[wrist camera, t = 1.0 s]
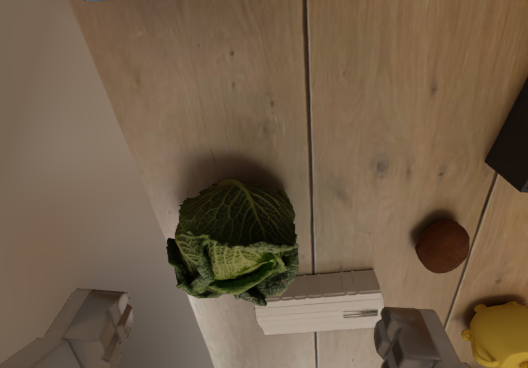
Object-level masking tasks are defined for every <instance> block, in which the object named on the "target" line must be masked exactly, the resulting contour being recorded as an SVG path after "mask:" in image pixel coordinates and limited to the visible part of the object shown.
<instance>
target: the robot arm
mask: <svg viewBox="0 0 528 368" xmlns="http://www.w3.org/2000/svg"><path fill="white" fill-rule="evenodd" d="M129 299H130V298H129V296H128V293H127V292H120V291H107V290H95V289H80V288H79V289H76V290H75V291H74V292H73V293H72V294H71V295H70V297H69V299H68V300H67V301H66V303H65V305H64V306H63V308H62V309H61V311H60V312H59V314H58V315H57V317H56V318H55V320H54V322H53V323H52V325H51V326H50V328H49V329H48V331H47V332H46V334H45V335H44V337H43V338H37V339H35V340H34V341H33V342H31V343H30V344H28V345H27V346H25V347H24V348H23V349H21V350H20V351H18V352H17V353H16V354H14V355H13V356H11V357H10V358H8V359H7V360H6V361H4V362H3V363H1V364H0V368H116V366H117V363H118V361H119V359H120V356H121V354H122V349H121V346H120V344H121V343H122V342H124V341H125V340H126V339H127V338H128V337H129V334H130V331H131V329H132V324H133V319H134V313H133V309H132V307H131V306H130V305H128V301H129ZM380 315H381V318H382V319H381V320H379V321H377V322H376V325H375V328H374V342H375V347H376V351H377V353H378V354H379V355H380V356H381V357H382V358H383V360H384V361H383V363H382V366H381V368H471V367H470V366H469V365H467V364H466V363H461V362H460V360H459V358H458V356H457V354H456V352H455V350H454V348H453V346H452V344H451V342H450V340H449V338H448V336H447V334H446V332H445V329H444V327H443V325H442V323H441V321H440V319H439V317H438V315H437V313H436V312H435V311H434V310H430V309H415V308H398V307H384V308H383V309H382V311H381V313H380Z"/></svg>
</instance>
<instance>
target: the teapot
mask: <svg viewBox="0 0 528 368" xmlns="http://www.w3.org/2000/svg"><path fill="white" fill-rule="evenodd" d="M474 310H475V311H476V312H477V313H476V314H475V315H474V317H473V319H472V320H471V323H470V329H465V330H463V331H462V332H461V336H462V338H463V339H464V340H466V341H471V348H472V353H473V356H474V358H475V359H476V361H477V362H478V363H480V364H482V365H484V366H487V367H492V368H528V308H527V307H525V306H523V305H520V304H517V302H515V301H510V302H507V303H506V304H505V305H497V306H491V307H486V305H477V306H476V307H475V308H474ZM466 335H469V337H467V336H466ZM478 353H479V354H480V355H479V354H478ZM480 356H481V357H482V358H481V357H480Z"/></svg>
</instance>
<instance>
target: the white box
mask: <svg viewBox="0 0 528 368" xmlns="http://www.w3.org/2000/svg"><path fill="white" fill-rule="evenodd" d="M317 274H318V275H308V276H306V274H305V275H304V276H297V277H295V280H294V281H292V282H291V283H290V284H289V286H288V287H287V289H288V290H287V291H286V292H284V293H283V294H282V295H281V296H275V297H268V298H266V299H265V300H266V302H267V305H266V306H257V305H255V308H254V309H255V310H256V316H255V317H256V318H257V323H258V324H259V325H258V326H260V327H262V329H263V331H264V334H265V335H272V334H287V333H301V332H316V331H330V330H345V329H360V328H374V327H375V325H376V322H377V321H379V320H380V319H382V318H381V315H380V313H381V311H382V309H383V308H384V304H383V295H382V292H381V288H380V286H379V283H378V280H377V277H376V274H375V271H374V269H372V270H365V271H353V270H351V272H343V271H340V273H331V274H320V273H317ZM281 281H282V282H283V283H285V284H286V283H287V282H286V281H285V280H283V279H282V280H281ZM280 284H282V283H280ZM344 314H348V315H344ZM354 315H358V316H354ZM344 316H354V317H344Z"/></svg>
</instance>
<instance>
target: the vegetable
mask: <svg viewBox="0 0 528 368" xmlns="http://www.w3.org/2000/svg"><path fill="white" fill-rule="evenodd" d="M199 193H200V194H201V195H199V196H197V197H195V198H187V199H186V200H185V201H184V202H183V204H182V205H178V206H180V207H181V209H180V210H179V213H180V214H179V223H178V225H177V229H176V232H175V239H172V238H168V240H167V245H168V246H167V247H166V248H167V254H168V261H169V263H170V264H171V265H172V266H174V267H175V273H176V278H177V282H178V284H177V288H182V289H183V290H185V291H186V292H187V293H188V295H192V296H194V297H197V298H217V297H219V296H221V295H223V294H232V295H234V296H235V298H236V299H239V298H241V299H244V300H246V301H249V302H253V303H254V304H255V305H257V306H266V305H267V302H266V300H265V299H266V298H268V297H275V296H281V295H282V294H283V293H284V292H286V291H287V290H288V289H287V287H288V286H289V284H290V283H291V282H292V281H294V280H295V277H296V274H297V272H298V264H299V261H298V247H299V245H298V244H296V239H297V235H296V234H295V224H293V222H294V219H295V212H294V210H293V207H292V204H291V203H290V200H289V198H288V197H287V194H286V192H285V191H284V189H283V188H282V189H277V190H273V189H269V188H266V187H264V186H261V185H256V184H252V183H249V184H245V183H241V182H239V181H237V180H234V179H225V180H223V181H221V182H220V183H219V184H218V185H215V184H213V185H212V186H211V187H209V188H208V189H204V190H202V191H200V192H199ZM282 279H283V280H285V281H286V282H287V283H286V284H285V283H283V282H282V281H281V280H282ZM280 283H282V284H280Z"/></svg>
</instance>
